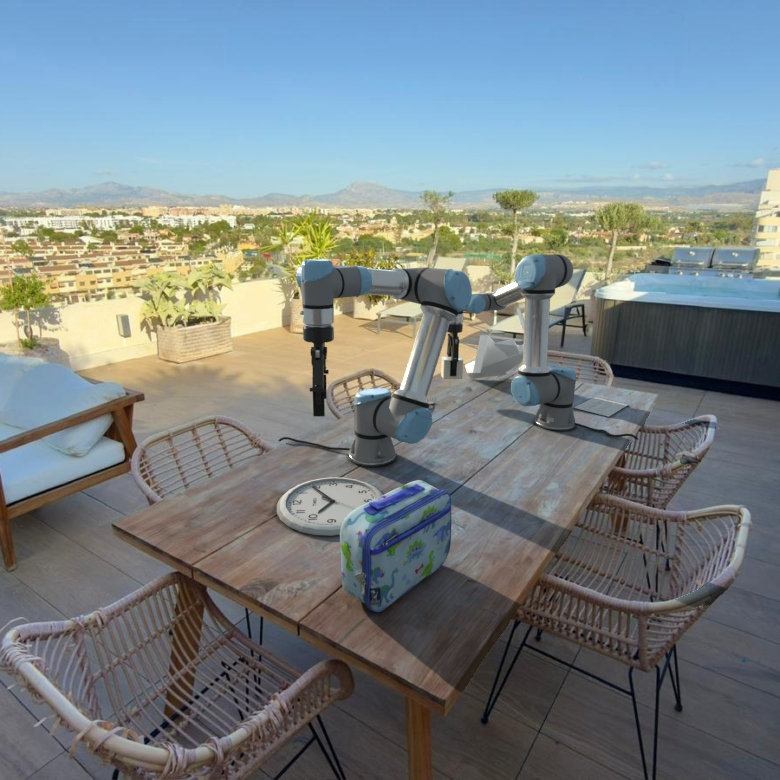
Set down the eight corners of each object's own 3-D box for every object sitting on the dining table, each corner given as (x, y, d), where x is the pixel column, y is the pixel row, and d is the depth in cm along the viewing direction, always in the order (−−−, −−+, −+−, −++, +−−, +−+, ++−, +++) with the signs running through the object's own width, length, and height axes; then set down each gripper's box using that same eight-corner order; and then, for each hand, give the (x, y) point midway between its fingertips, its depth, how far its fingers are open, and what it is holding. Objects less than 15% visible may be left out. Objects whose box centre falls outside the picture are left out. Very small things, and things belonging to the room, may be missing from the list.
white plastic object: (486, 420, 263) (466, 398, 238) (467, 347, 285) (447, 319, 261) (558, 397, 251) (544, 370, 226) (532, 322, 273) (517, 290, 248)
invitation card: (608, 416, 214) (573, 407, 224) (608, 416, 214) (573, 408, 224) (628, 404, 229) (594, 396, 238) (628, 405, 229) (594, 397, 238)
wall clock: (392, 527, 129) (268, 531, 127) (391, 533, 130) (269, 537, 127) (383, 473, 158) (282, 475, 155) (383, 478, 158) (282, 480, 156)
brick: (459, 375, 239) (460, 356, 236) (462, 379, 233) (463, 360, 230) (440, 375, 238) (441, 356, 236) (443, 379, 232) (444, 360, 229)
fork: (420, 411, 216) (420, 406, 216) (430, 400, 230) (431, 395, 230) (426, 412, 215) (426, 407, 215) (436, 401, 230) (436, 396, 229)
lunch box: (369, 626, 100) (370, 530, 93) (334, 598, 107) (332, 507, 101) (455, 567, 117) (460, 483, 111) (419, 547, 124) (423, 467, 118)
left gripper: (306, 316, 139) (308, 392, 145) (298, 334, 115) (301, 424, 122) (334, 316, 140) (335, 391, 146) (332, 334, 116) (334, 424, 122)
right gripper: (441, 319, 237) (439, 368, 244) (449, 326, 219) (447, 379, 225) (458, 319, 238) (455, 368, 244) (467, 326, 219) (464, 379, 226)
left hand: (320, 406), depth 134 cm, fingers open, 13 cm apart
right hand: (451, 373), depth 235 cm, fingers closed on brick, 6 cm apart
